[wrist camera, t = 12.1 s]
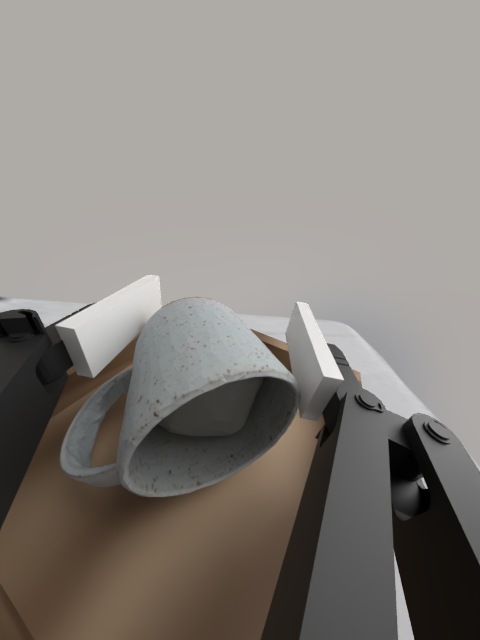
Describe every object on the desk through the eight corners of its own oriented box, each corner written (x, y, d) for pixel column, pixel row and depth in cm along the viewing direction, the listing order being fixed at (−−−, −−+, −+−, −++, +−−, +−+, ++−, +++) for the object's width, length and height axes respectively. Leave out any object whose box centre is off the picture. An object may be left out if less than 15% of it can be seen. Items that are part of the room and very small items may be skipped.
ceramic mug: (231, 359, 17) (241, 281, 13) (281, 453, 11) (330, 359, 7) (91, 390, 13) (43, 287, 9) (43, 573, 7) (-191, 509, 3)
